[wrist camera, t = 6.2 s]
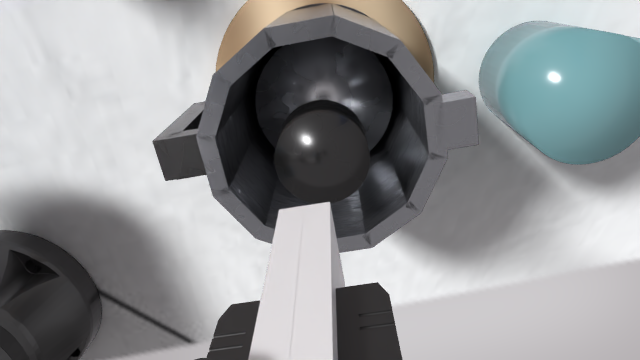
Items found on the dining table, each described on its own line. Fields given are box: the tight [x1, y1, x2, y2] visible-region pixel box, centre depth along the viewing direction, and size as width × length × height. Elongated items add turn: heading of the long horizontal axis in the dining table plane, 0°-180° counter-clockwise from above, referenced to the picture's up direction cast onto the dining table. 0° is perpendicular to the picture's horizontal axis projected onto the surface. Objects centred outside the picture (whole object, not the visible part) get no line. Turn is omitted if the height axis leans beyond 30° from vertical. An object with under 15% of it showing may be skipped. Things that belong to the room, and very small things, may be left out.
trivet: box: [216, 0, 434, 83], centre depth 38 cm, size 17×17×1 cm
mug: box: [479, 21, 640, 164], centre depth 34 cm, size 10×8×10 cm
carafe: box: [153, 3, 479, 253], centre depth 31 cm, size 17×12×15 cm
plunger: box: [255, 36, 393, 204], centre depth 28 cm, size 9×9×12 cm
